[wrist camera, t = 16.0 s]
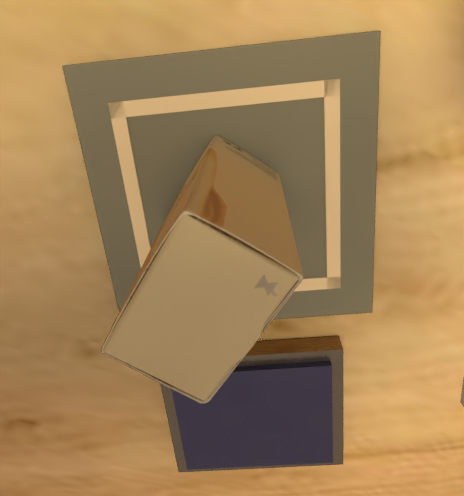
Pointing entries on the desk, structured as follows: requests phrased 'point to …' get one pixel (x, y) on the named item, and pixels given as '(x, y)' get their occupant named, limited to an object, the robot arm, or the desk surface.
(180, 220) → the skincare box
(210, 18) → the desk surface
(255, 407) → the ink pad
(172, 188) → the marked board
